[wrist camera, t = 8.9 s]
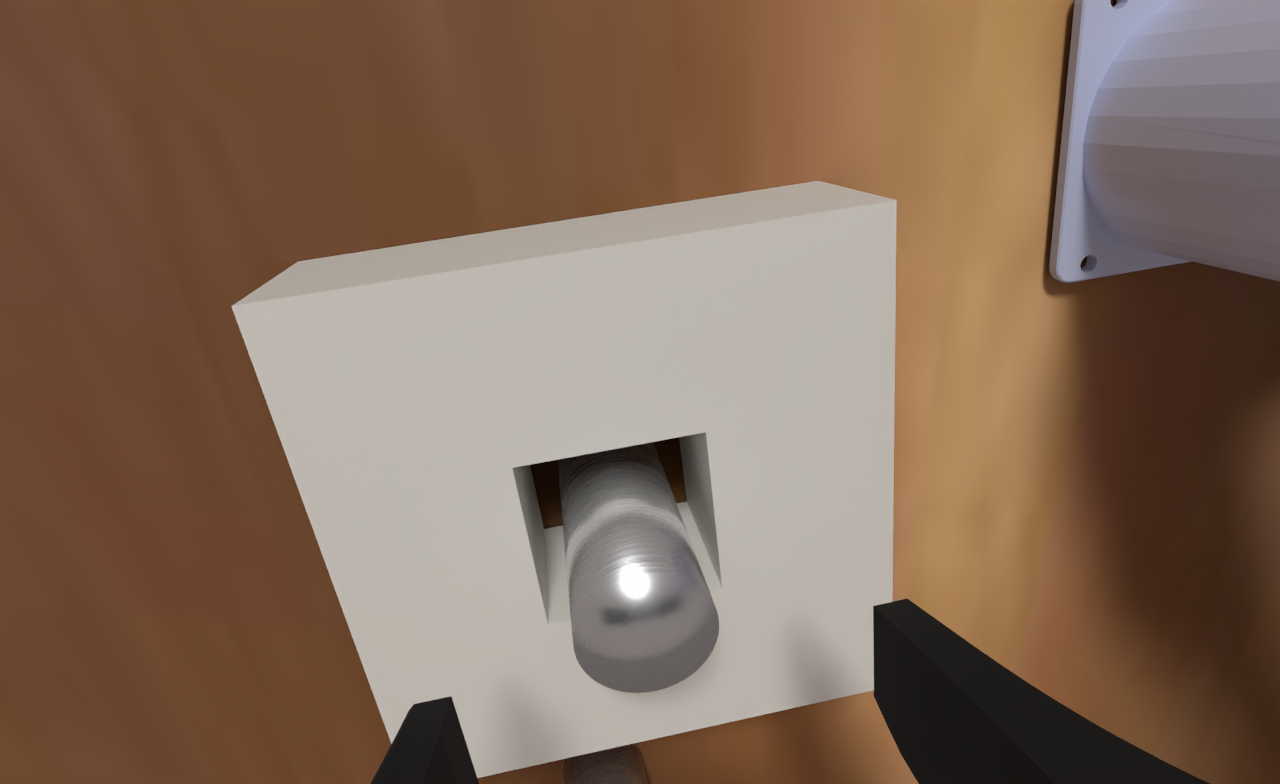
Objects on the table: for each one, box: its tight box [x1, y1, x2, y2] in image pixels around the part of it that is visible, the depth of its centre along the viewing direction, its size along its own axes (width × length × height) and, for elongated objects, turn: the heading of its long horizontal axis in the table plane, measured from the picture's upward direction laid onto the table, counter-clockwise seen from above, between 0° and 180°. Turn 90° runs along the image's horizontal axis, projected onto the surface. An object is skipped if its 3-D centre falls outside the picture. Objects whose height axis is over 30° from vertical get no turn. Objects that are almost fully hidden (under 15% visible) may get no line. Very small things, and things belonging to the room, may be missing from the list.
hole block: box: [232, 181, 897, 778], centre depth 20 cm, size 14×14×4 cm
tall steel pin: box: [557, 442, 719, 693], centre depth 18 cm, size 3×3×8 cm
